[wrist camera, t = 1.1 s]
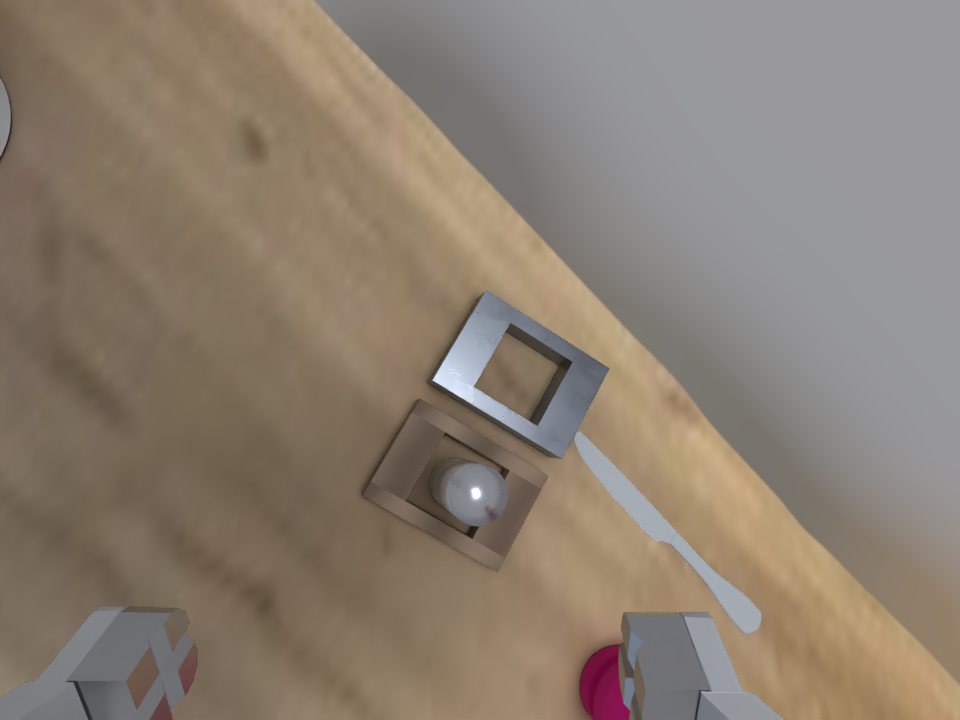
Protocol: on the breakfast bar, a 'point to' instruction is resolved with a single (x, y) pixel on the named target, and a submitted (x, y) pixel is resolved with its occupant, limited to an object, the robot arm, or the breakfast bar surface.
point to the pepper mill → (603, 686)
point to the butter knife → (668, 535)
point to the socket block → (576, 368)
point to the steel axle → (469, 490)
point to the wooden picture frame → (409, 462)
